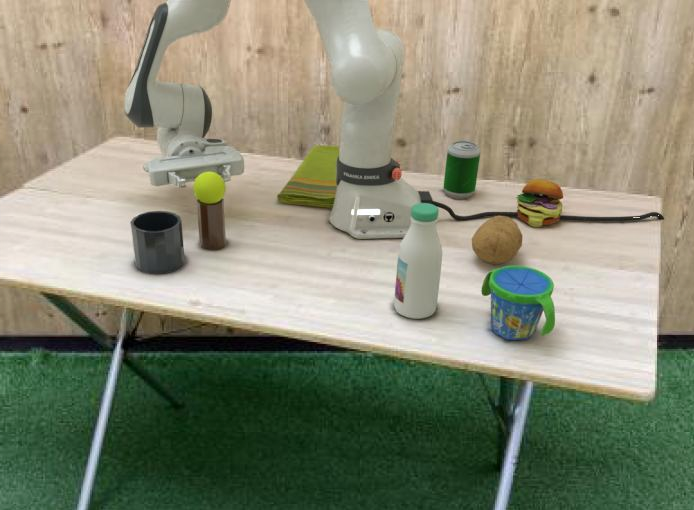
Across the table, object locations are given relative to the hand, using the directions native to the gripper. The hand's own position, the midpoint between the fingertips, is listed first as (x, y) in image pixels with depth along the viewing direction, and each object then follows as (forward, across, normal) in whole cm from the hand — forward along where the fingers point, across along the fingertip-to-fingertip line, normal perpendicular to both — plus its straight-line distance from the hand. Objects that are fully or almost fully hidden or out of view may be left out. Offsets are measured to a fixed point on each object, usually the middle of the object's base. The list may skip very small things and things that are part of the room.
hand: (205, 181), depth 160 cm
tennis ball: (+4, 0, 0) cm, 4 cm away
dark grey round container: (+8, -12, +12) cm, 19 cm away
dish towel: (-21, +36, +13) cm, 43 cm away
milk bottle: (+41, +28, +13) cm, 51 cm away
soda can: (-2, +62, +13) cm, 63 cm away
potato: (+29, +52, +13) cm, 61 cm away
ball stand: (+4, 0, +13) cm, 13 cm away
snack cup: (+54, +40, +13) cm, 68 cm away
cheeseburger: (+16, +72, +13) cm, 74 cm away
